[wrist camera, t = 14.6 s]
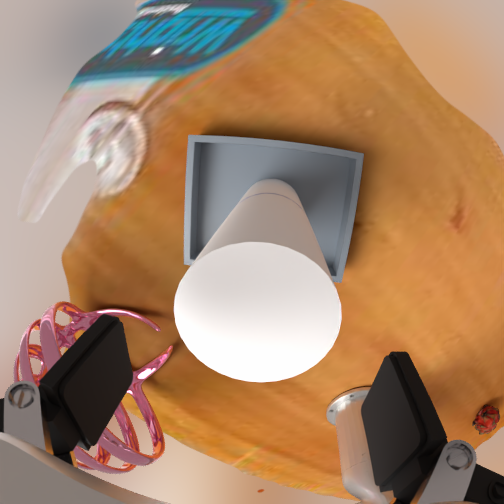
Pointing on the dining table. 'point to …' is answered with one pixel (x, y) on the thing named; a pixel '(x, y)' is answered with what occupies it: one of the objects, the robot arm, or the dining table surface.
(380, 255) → the dining table surface
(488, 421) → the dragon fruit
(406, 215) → the dining table surface
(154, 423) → the spiral basket
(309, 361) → the cylindrical container
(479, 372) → the dining table surface
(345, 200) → the tray
